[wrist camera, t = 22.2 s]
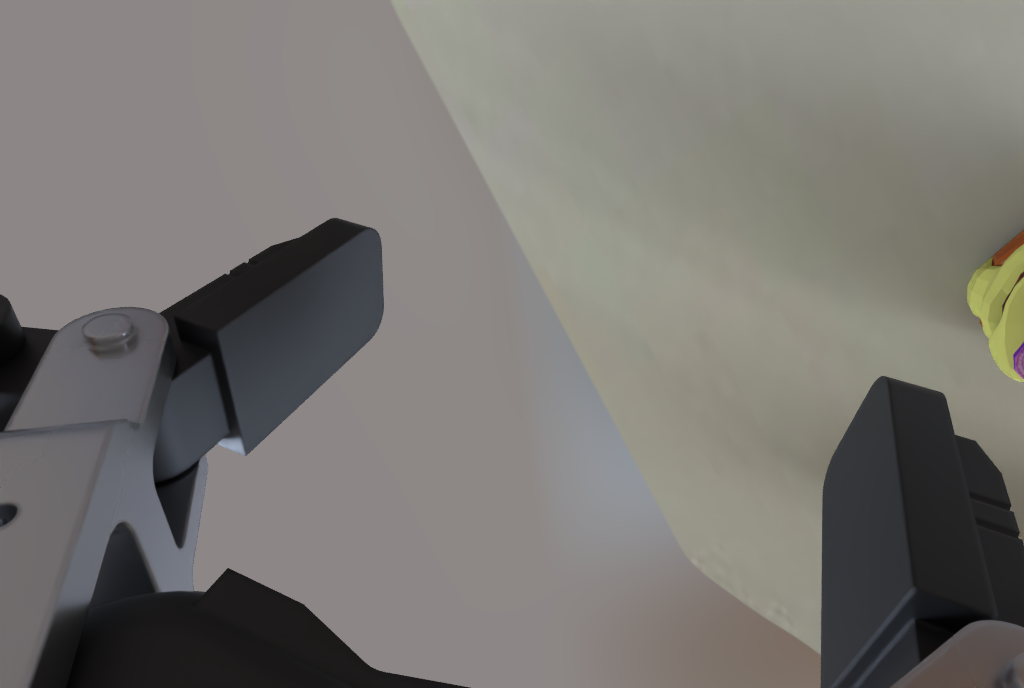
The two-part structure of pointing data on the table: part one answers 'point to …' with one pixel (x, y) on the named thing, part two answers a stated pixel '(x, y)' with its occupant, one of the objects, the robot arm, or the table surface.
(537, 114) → the table surface
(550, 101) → the table surface
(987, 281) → the cheeseburger
